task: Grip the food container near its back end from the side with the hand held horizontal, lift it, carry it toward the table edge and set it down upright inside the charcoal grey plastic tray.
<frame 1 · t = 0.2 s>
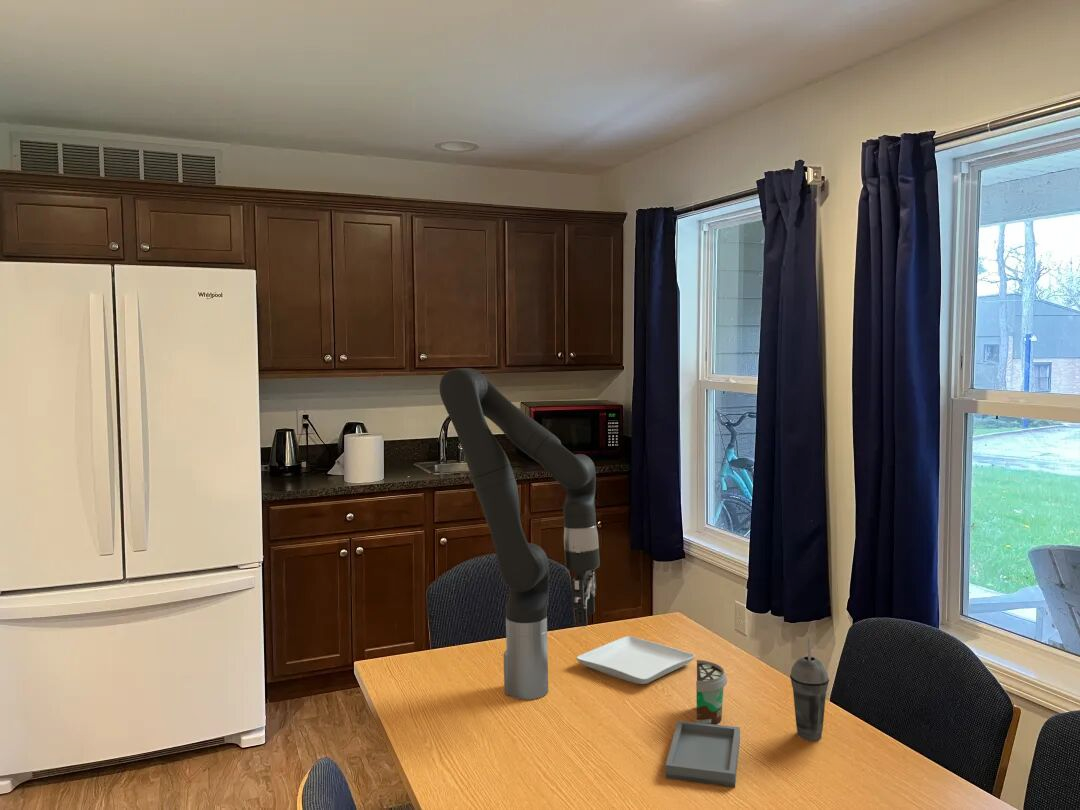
hand: (586, 619, 174), 18 cm above the table, tool pointing down, fingers open, 8 cm apart
food container: (712, 719, 164), on the table
beverage cup: (809, 736, 156), on the table
salad plate: (635, 669, 192), on the table
tray: (704, 757, 148), on the table
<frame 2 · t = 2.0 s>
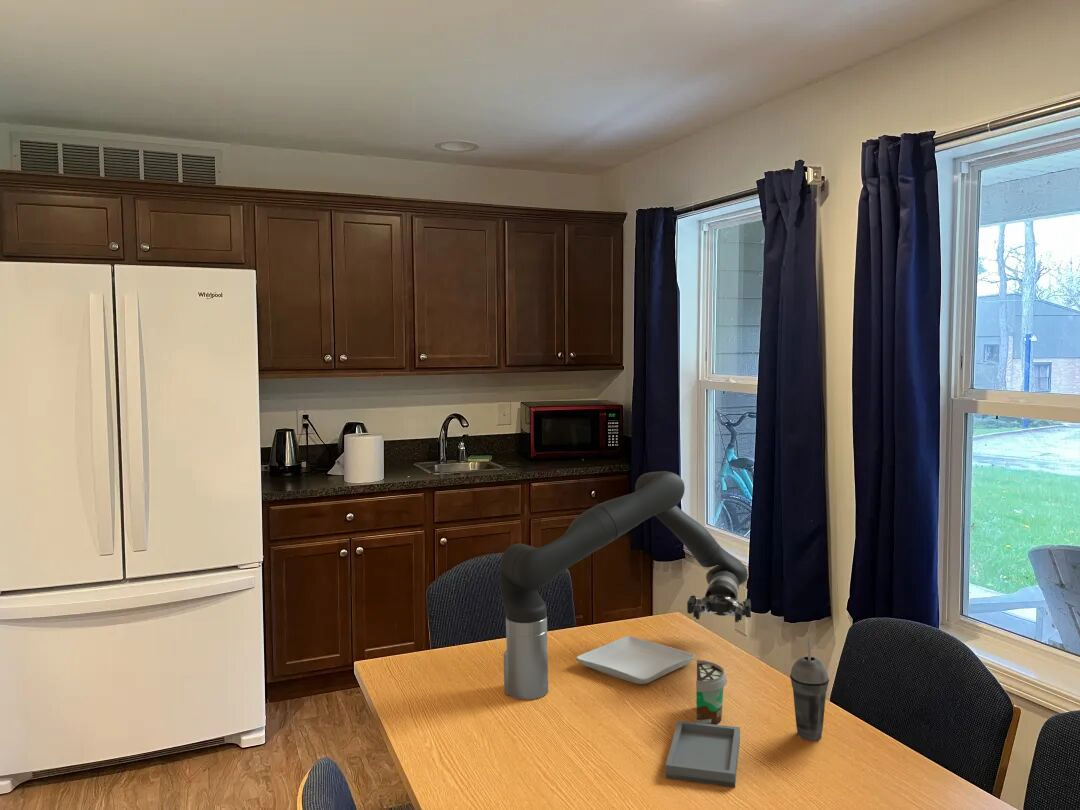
hand: (717, 616, 176), 17 cm above the table, tool horizontal, fingers open, 8 cm apart
nothing on the table moved.
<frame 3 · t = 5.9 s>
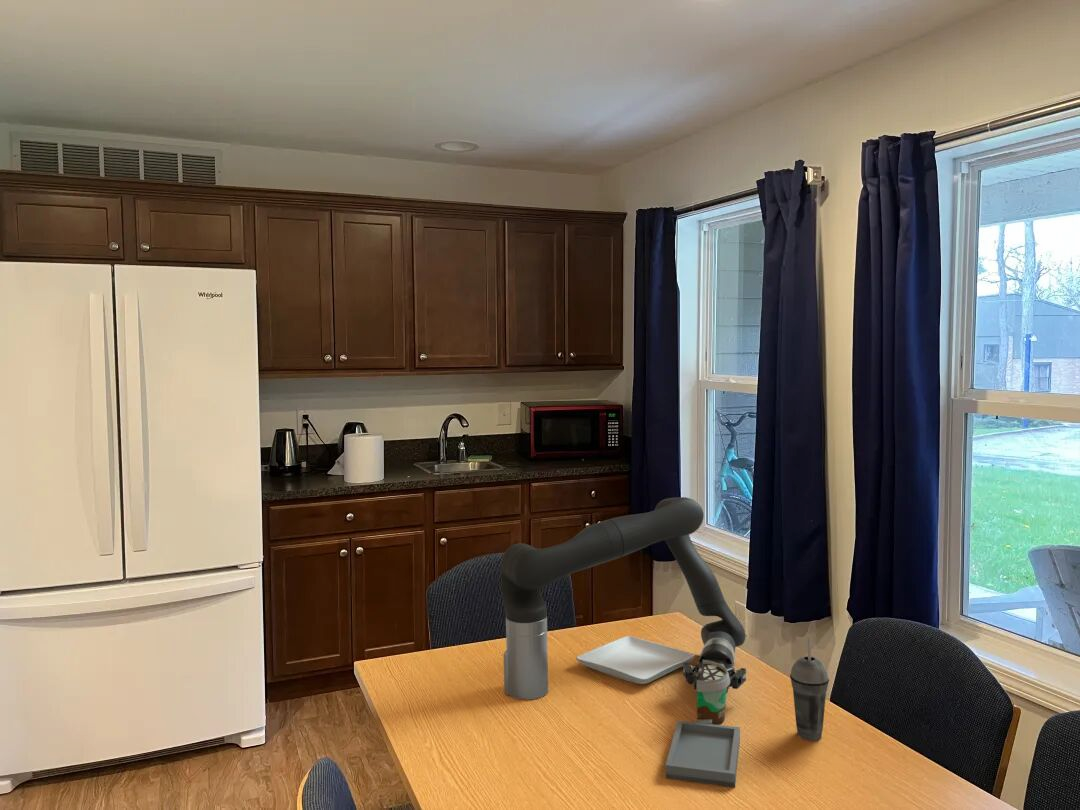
hand: (710, 689, 164), 6 cm above the table, tool horizontal, fingers open, 4 cm apart
food container: (714, 719, 164), on the table, touching gripper
everything else where it was.
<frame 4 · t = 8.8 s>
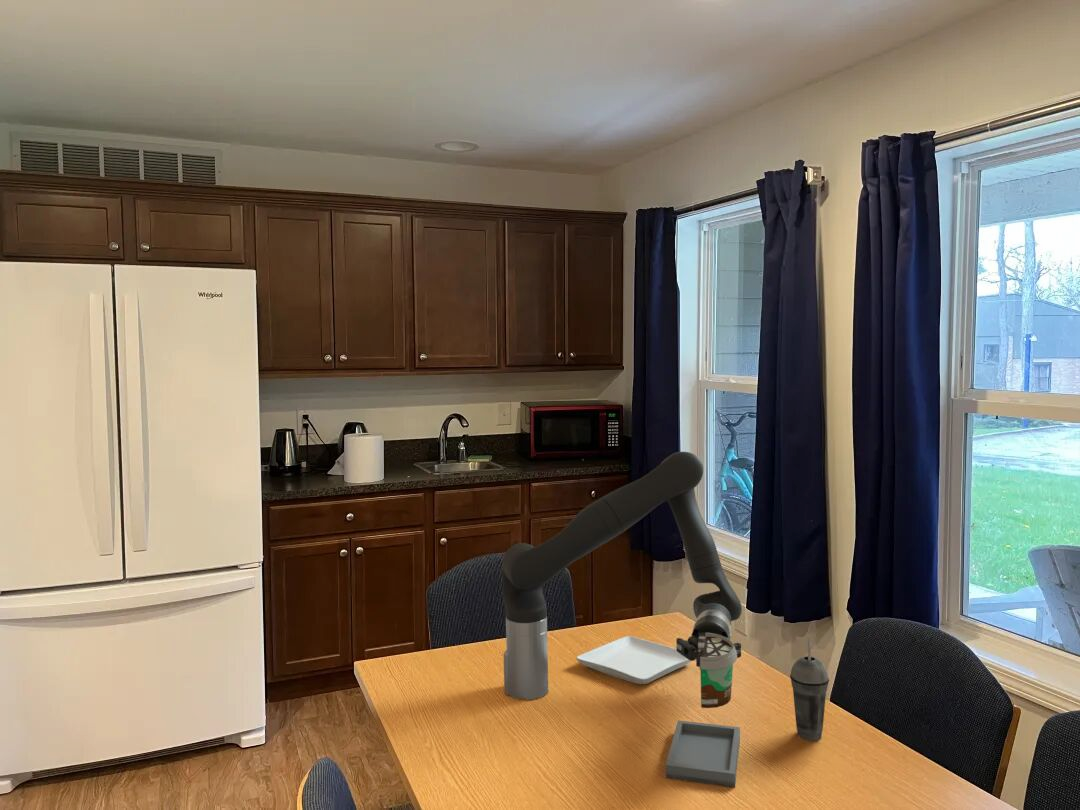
hand: (704, 664, 147), 18 cm above the table, tool horizontal, fingers closed on food container
food container: (720, 698, 147), point 11 cm above the table, touching gripper
everything else where it was.
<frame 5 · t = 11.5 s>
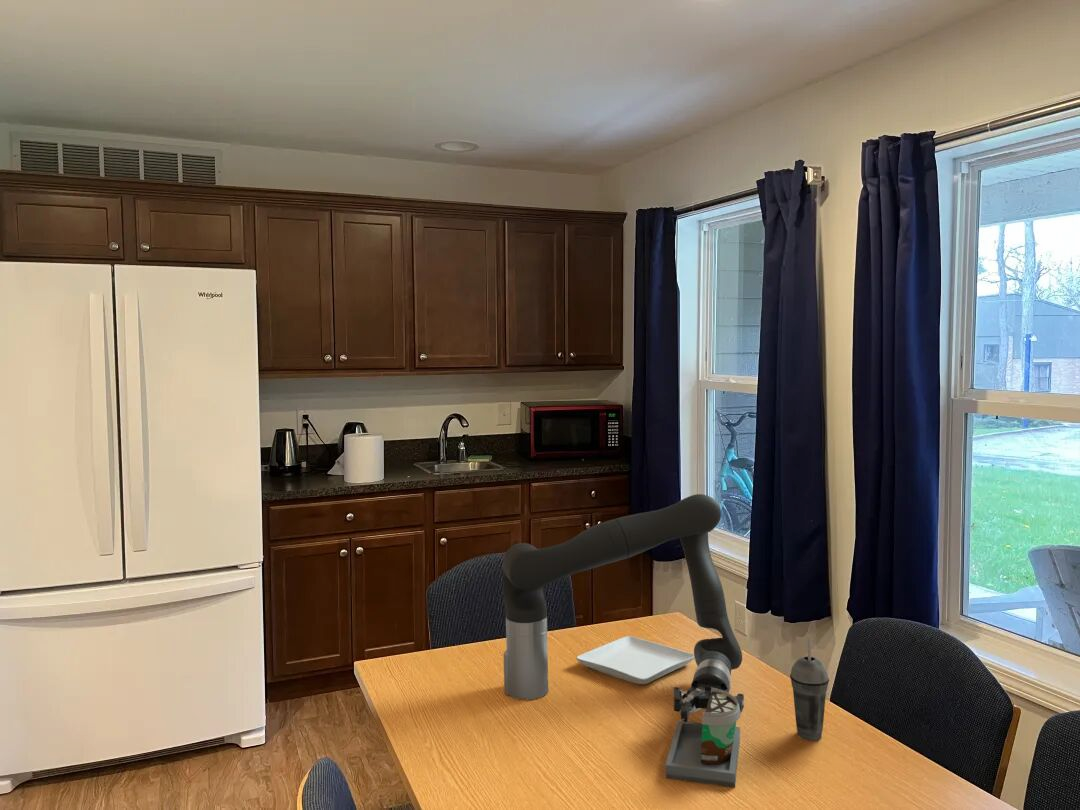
hand: (703, 719, 148), 7 cm above the table, tool horizontal, fingers open, 6 cm apart
food container: (721, 755, 147), point 1 cm above the table, touching gripper, tray
everything else where it was.
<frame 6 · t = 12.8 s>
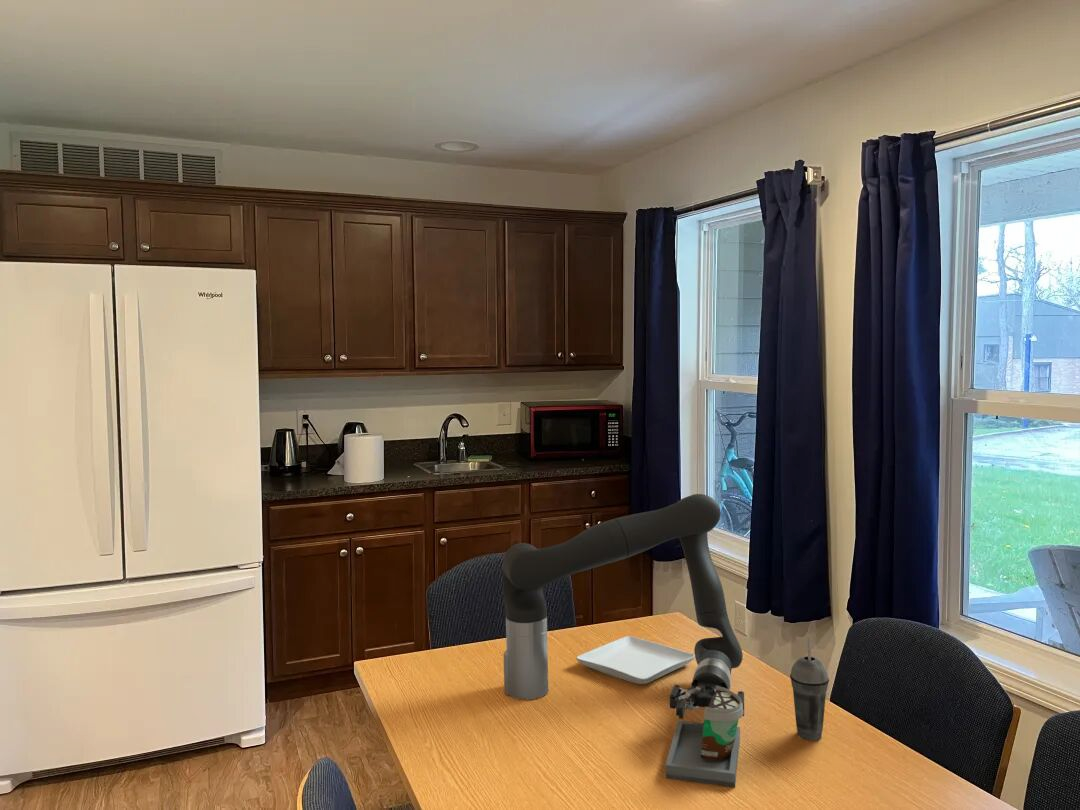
hand: (703, 716, 149), 7 cm above the table, tool horizontal, fingers open, 8 cm apart
food container: (721, 753, 148), point 1 cm above the table
everything else where it was.
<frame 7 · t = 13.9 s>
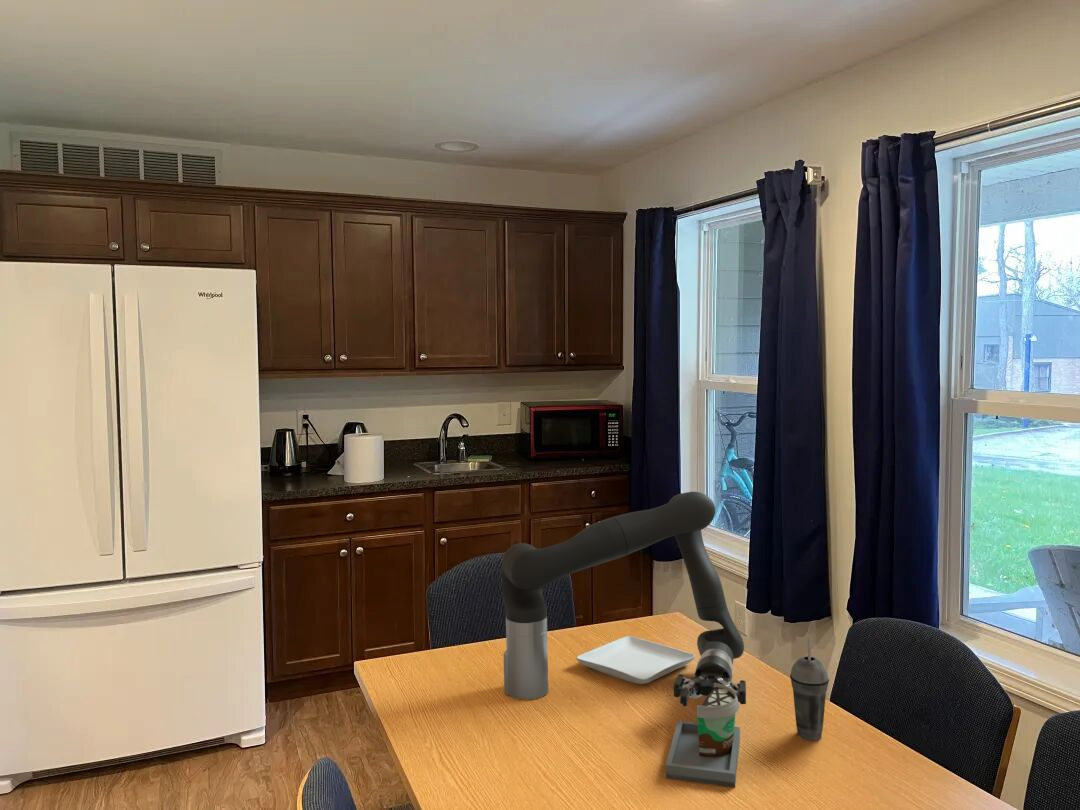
hand: (706, 704, 154), 7 cm above the table, tool horizontal, fingers open, 8 cm apart
food container: (722, 749, 150), point 1 cm above the table, touching tray
everything else where it was.
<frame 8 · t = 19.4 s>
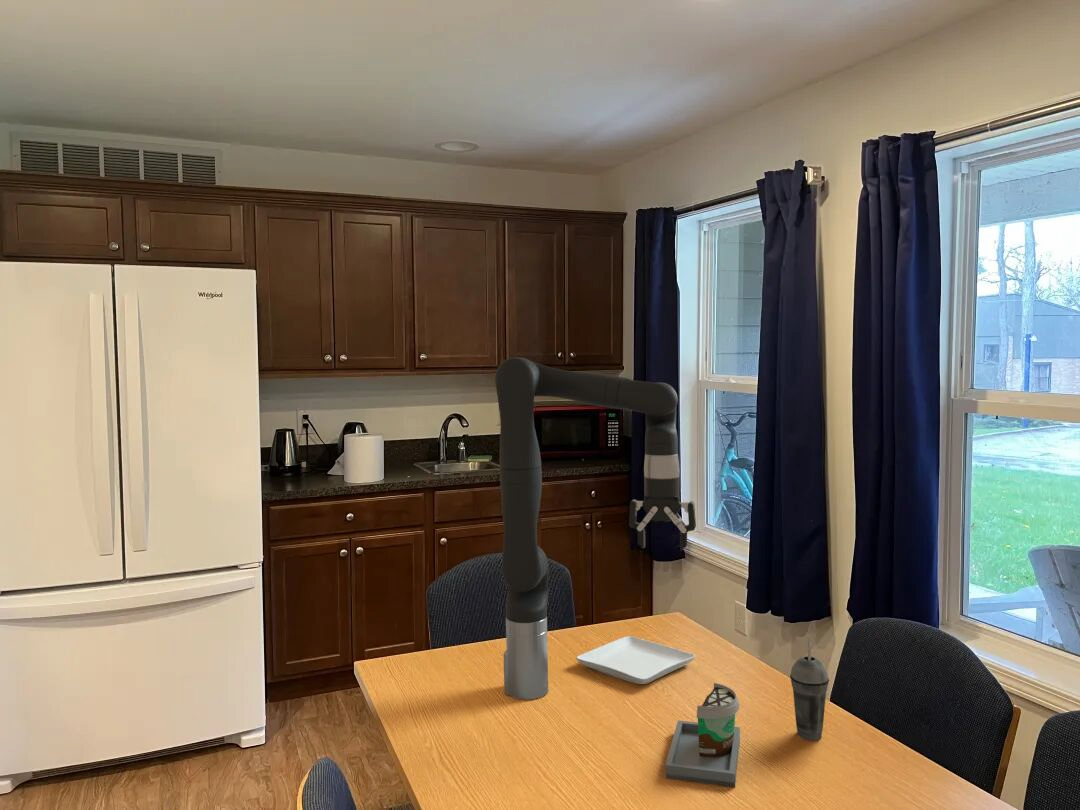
hand: (662, 548, 173), 33 cm above the table, tool pointing down, fingers open, 8 cm apart
nothing on the table moved.
at the end: food container inside the target area on the tray (4.2 cm from its centre), point 0.6 cm above the tray's base; food container tilted 0°; the gripper is holding nothing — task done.
